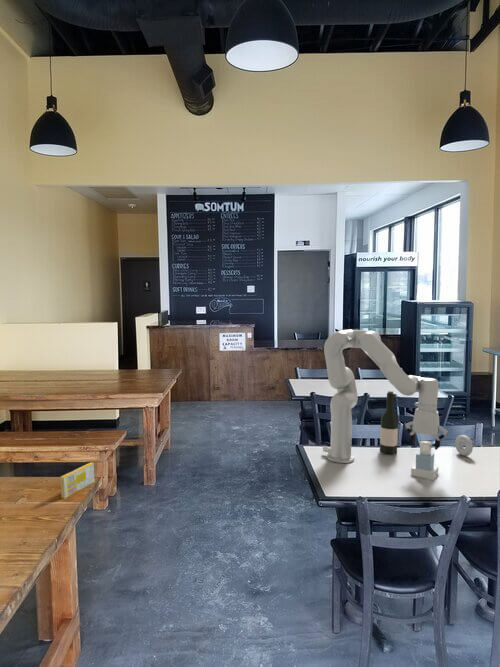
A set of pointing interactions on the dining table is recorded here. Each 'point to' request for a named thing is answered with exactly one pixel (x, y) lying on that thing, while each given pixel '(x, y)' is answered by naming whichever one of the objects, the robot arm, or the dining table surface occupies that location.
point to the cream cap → (425, 448)
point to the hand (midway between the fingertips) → (424, 446)
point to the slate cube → (424, 461)
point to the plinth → (424, 472)
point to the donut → (467, 443)
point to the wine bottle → (389, 428)
